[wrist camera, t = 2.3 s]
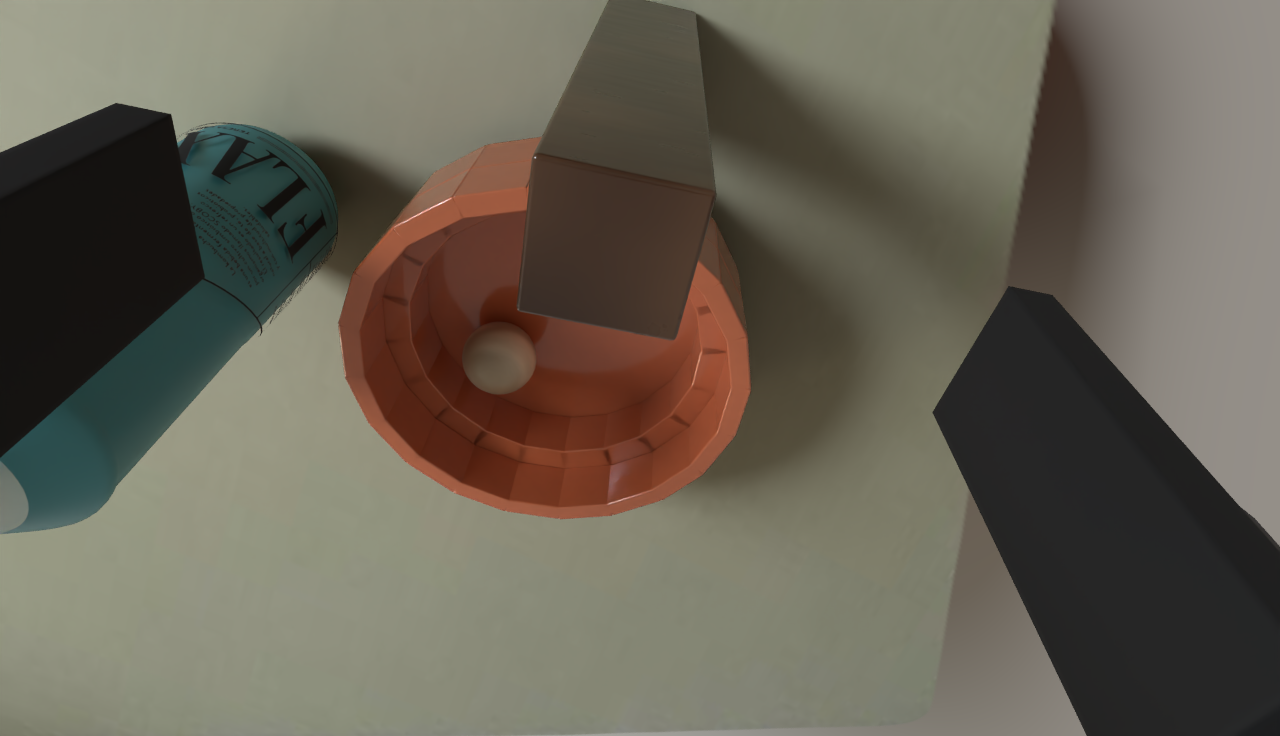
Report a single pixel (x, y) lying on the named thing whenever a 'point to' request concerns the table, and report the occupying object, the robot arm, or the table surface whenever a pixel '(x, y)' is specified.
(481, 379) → the bead
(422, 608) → the table surface
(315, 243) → the beverage bottle
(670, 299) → the stick
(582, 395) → the bowl
